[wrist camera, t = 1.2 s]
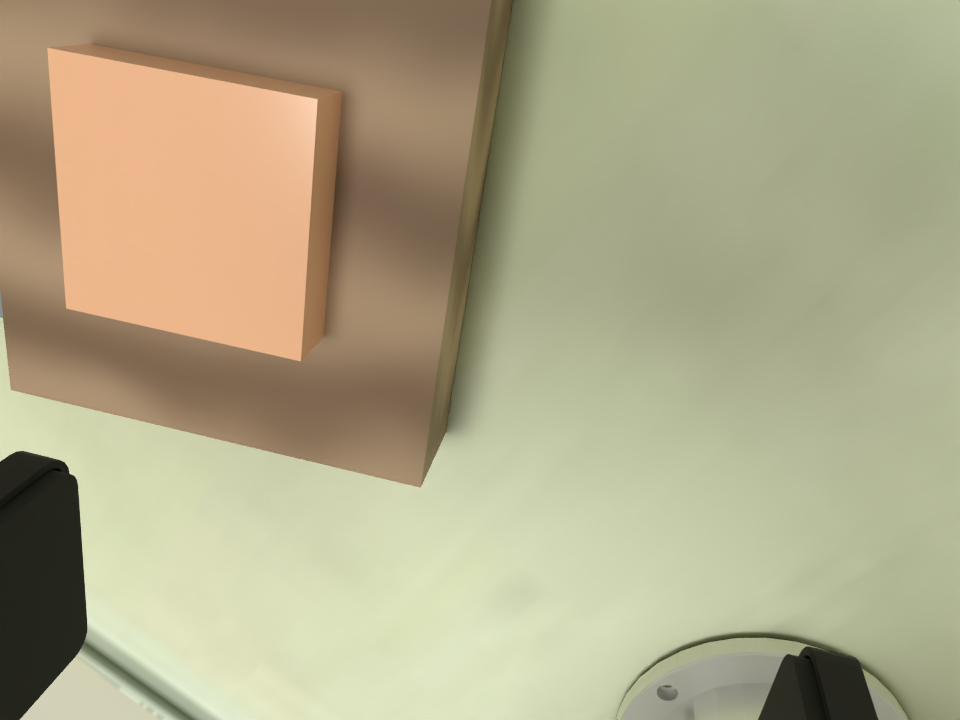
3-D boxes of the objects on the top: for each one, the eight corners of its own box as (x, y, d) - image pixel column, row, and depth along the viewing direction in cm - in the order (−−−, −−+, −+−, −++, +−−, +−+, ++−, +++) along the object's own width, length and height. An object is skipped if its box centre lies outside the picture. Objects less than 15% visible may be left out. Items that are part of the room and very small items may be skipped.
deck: (445, 433, 33) (420, 487, 29) (77, 348, 34) (11, 389, 31) (523, -68, 25) (502, -78, 21) (43, -147, 27) (-50, -169, 23)
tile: (323, 337, 27) (300, 361, 26) (103, 288, 28) (66, 308, 26) (342, 91, 24) (317, 99, 22) (90, 43, 25) (47, 47, 23)
